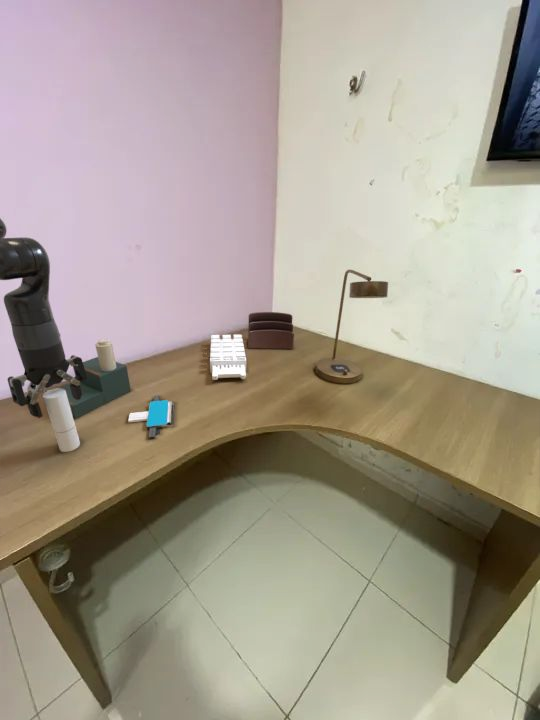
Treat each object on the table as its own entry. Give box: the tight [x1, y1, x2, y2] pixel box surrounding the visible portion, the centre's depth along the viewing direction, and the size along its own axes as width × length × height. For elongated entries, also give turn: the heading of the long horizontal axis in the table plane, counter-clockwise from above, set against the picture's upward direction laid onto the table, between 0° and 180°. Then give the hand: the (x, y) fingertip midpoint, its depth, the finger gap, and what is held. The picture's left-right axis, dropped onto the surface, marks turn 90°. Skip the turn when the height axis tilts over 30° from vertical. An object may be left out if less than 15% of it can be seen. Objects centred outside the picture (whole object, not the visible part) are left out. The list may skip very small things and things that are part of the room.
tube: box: [42, 387, 81, 453], centre depth 72 cm, size 4×4×15 cm
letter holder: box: [247, 311, 295, 350], centre depth 137 cm, size 10×20×14 cm, turn 93°
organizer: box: [209, 334, 248, 381], centre depth 121 cm, size 13×5×35 cm
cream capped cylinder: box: [95, 338, 117, 371], centre depth 92 cm, size 4×4×9 cm
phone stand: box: [127, 395, 175, 440], centre depth 87 cm, size 20×12×2 cm, turn 15°
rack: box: [44, 356, 132, 420], centre depth 93 cm, size 13×18×10 cm
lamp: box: [315, 269, 389, 385], centre depth 105 cm, size 17×27×38 cm, turn 8°
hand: (58, 407), depth 71 cm, fingers open, 8 cm apart
